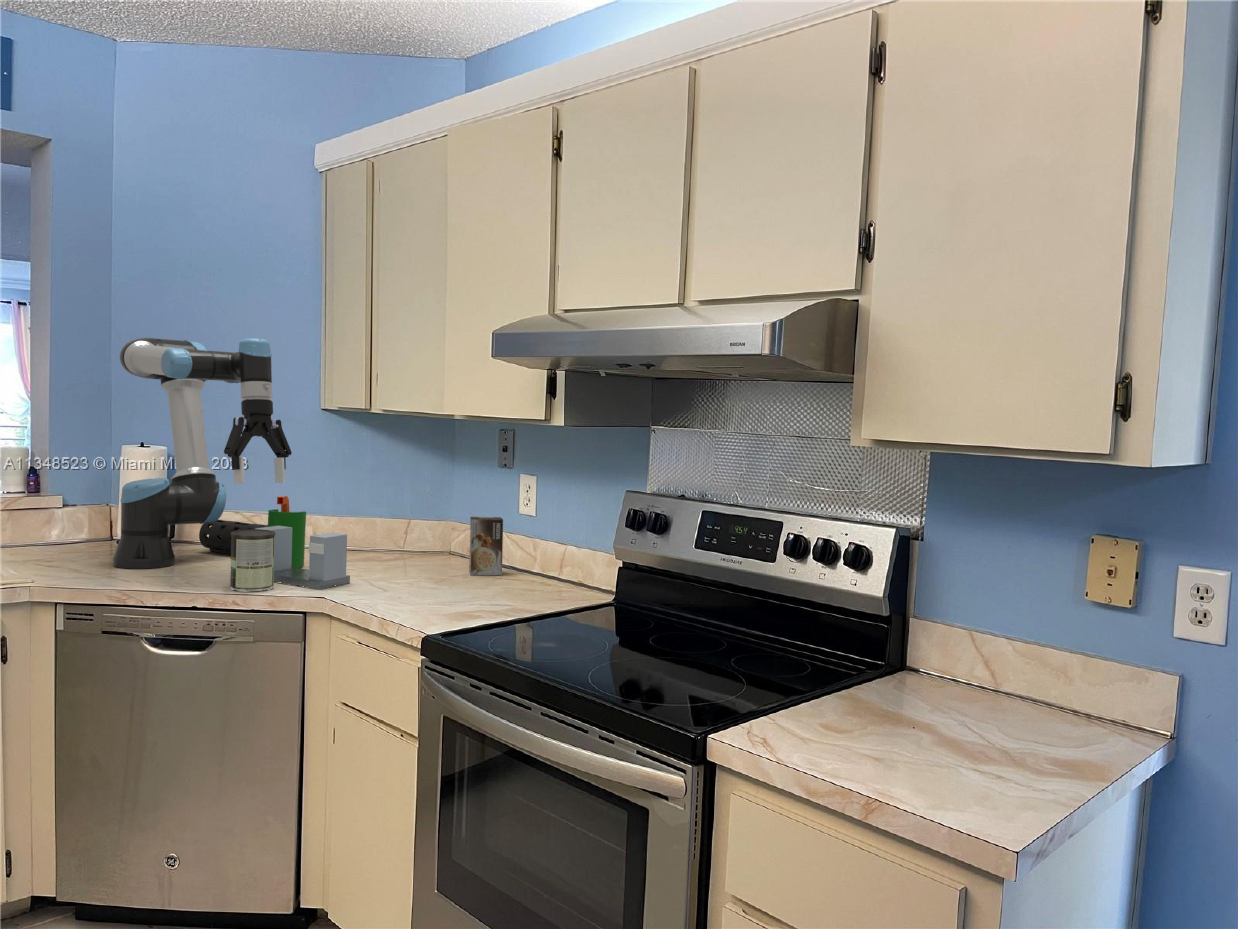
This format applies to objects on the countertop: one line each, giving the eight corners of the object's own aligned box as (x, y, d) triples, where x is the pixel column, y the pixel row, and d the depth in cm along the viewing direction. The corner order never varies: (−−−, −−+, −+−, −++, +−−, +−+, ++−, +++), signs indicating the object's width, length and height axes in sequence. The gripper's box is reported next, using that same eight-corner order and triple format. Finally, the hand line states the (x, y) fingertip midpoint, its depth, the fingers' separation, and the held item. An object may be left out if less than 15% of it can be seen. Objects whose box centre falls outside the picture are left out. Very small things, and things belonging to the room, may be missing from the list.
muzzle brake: (222, 550, 287) (222, 516, 287) (294, 559, 277) (295, 524, 276) (197, 553, 278) (198, 519, 278) (271, 563, 268) (272, 528, 267)
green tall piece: (307, 565, 268) (310, 495, 267) (296, 569, 259) (299, 497, 258) (272, 563, 268) (274, 493, 267) (260, 567, 259) (263, 495, 258)
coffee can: (220, 588, 231) (221, 531, 230) (254, 582, 240) (255, 528, 239) (249, 594, 226) (250, 536, 225) (282, 587, 235) (284, 532, 234)
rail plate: (249, 578, 245) (249, 570, 245) (281, 572, 255) (281, 565, 254) (319, 589, 234) (319, 582, 234) (349, 583, 244) (350, 575, 244)
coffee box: (500, 571, 271) (502, 516, 270) (502, 575, 265) (504, 519, 264) (468, 571, 269) (470, 516, 268) (469, 575, 263) (471, 519, 262)
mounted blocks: (252, 570, 245) (253, 528, 245) (277, 566, 253) (278, 525, 252) (322, 581, 235) (323, 538, 234) (346, 576, 243) (347, 534, 242)
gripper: (229, 394, 225) (232, 482, 225) (303, 401, 248) (306, 481, 247) (206, 397, 228) (209, 484, 228) (282, 404, 251) (285, 483, 251)
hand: (260, 483), depth 238 cm, fingers open, 13 cm apart
